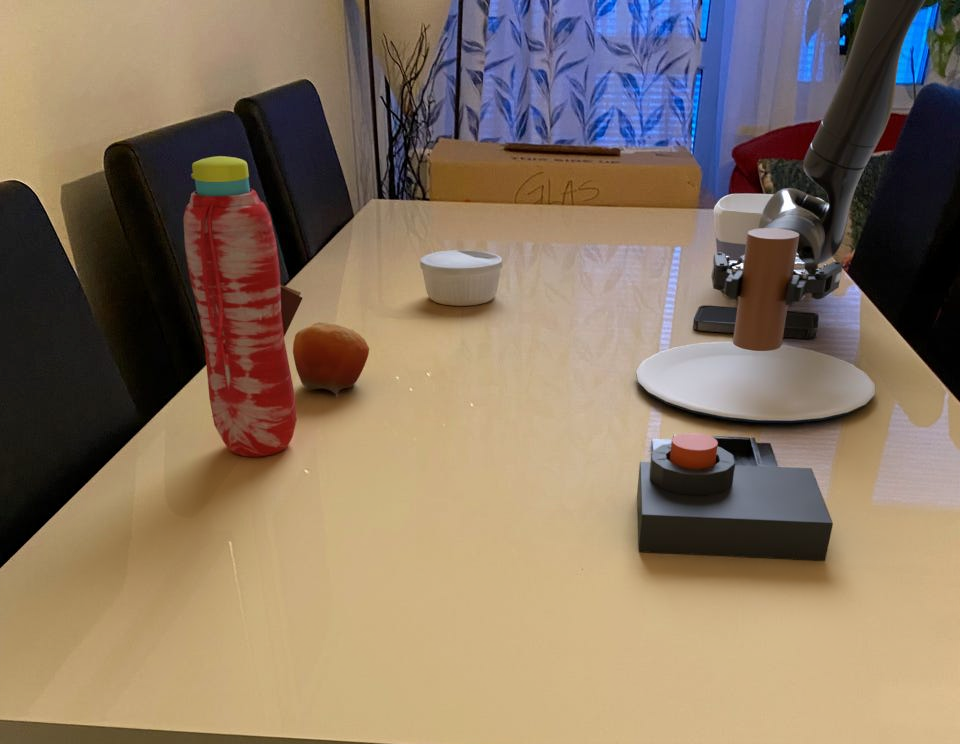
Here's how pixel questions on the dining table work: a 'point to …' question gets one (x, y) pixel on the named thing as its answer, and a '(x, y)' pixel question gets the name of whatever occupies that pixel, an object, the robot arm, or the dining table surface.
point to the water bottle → (240, 308)
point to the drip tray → (739, 450)
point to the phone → (726, 318)
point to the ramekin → (461, 276)
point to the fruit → (329, 356)
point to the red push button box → (730, 509)
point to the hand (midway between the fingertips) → (761, 292)
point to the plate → (755, 383)
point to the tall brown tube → (765, 288)
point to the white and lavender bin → (737, 221)
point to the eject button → (693, 450)
